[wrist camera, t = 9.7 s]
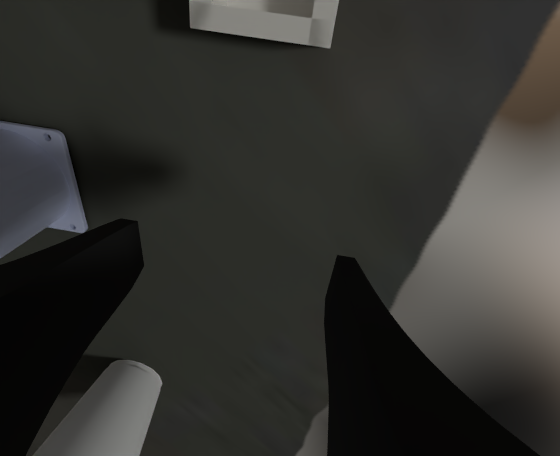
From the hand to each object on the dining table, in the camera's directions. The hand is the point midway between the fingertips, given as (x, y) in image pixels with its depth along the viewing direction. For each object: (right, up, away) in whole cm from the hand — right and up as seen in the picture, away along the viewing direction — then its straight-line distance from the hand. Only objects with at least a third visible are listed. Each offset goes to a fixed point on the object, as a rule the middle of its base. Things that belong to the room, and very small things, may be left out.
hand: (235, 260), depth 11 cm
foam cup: (-15, -16, +24) cm, 33 cm away
